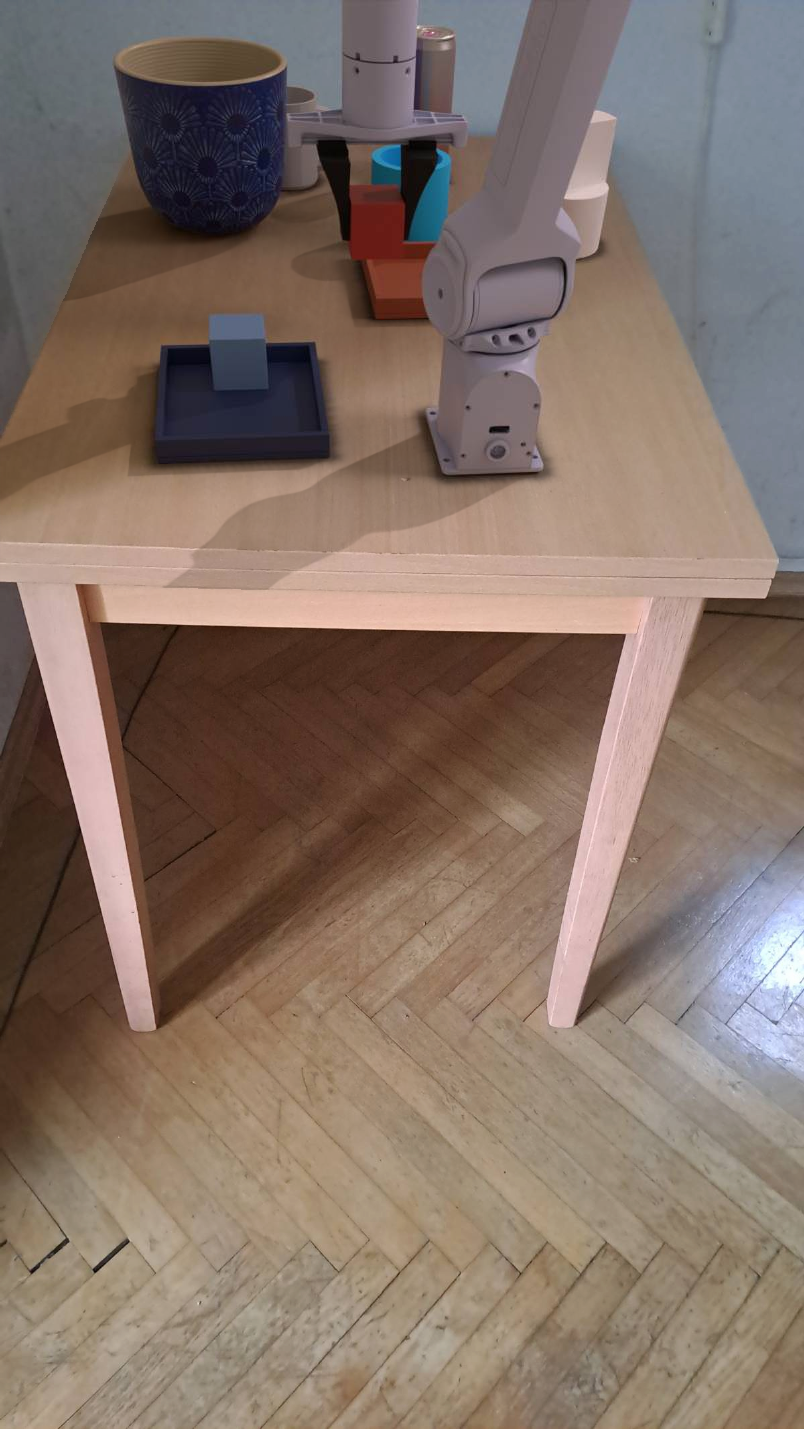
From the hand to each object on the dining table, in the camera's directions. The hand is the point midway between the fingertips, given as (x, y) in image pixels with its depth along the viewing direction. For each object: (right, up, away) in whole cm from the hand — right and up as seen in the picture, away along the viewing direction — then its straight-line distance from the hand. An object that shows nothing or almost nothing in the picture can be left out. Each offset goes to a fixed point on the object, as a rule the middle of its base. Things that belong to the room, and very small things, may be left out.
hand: (374, 236), depth 86 cm
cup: (-10, +22, +32) cm, 40 cm away
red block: (0, -1, +1) cm, 1 cm away
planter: (-18, +13, +23) cm, 32 cm away
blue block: (-11, -13, -2) cm, 17 cm away
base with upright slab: (+19, +10, +23) cm, 31 cm away
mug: (+3, +11, +23) cm, 25 cm away
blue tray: (-11, -17, -4) cm, 20 cm away
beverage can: (+5, +24, +35) cm, 42 cm away
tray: (+5, +1, +13) cm, 14 cm away
